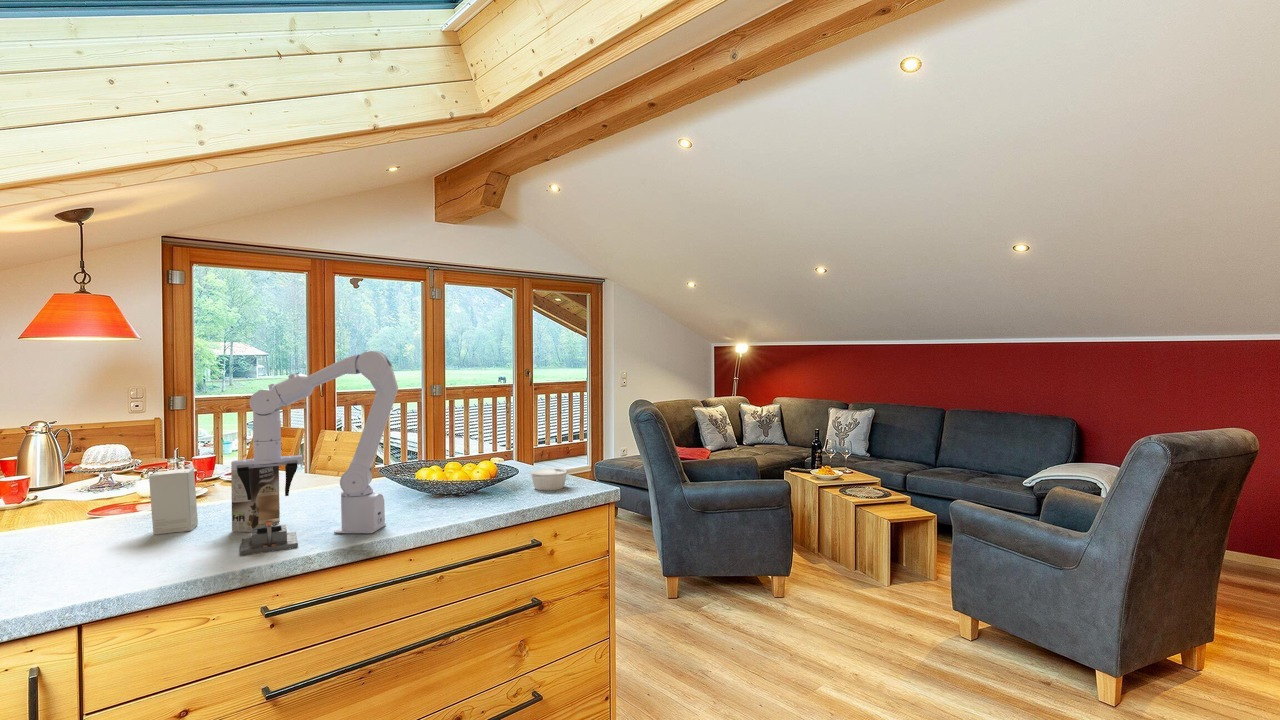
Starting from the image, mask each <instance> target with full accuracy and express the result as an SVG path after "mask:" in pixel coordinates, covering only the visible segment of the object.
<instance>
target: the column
mask: <svg viewBox="0 0 1280 720" xmlns="http://www.w3.org/2000/svg"><path fill="white" fill-rule="evenodd" d="M279 506H280V490H279V491H276V492H267V493H258V508H259V524H266V521H272V523H274V522H279V521H280V522H281V520H280V518H281V516H280V517H279Z"/></svg>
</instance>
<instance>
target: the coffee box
mask: <svg viewBox="0 0 1280 720" xmlns="http://www.w3.org/2000/svg"><path fill="white" fill-rule="evenodd" d="M270 464H277V463H270ZM259 465H265V464H259ZM253 466H254V465H253ZM230 471H231V481H230V483H231V532H237V533H239V532H240V533H241V532H242V533H252V529H253V528H261V527H267V526H266V524H259V508H258V493H267V492H276V491H279V492H280V466H270V467H259V468H250V487H251V500H248V498H247V493H246V490H245V487H244V485H243V483H242V481H241V479H240V477H239V476H238V474H237V470H232V467H231V470H230ZM280 506H281V505H279V517H280V518H281V514H280V513H281V512H280V511H281V510H280ZM279 522H280V523H281V520H280V521H279ZM279 522H274V523H272V525H273V526H275V525H274V524H276V525H278V524H277V523H279ZM280 523H279V524H280Z"/></svg>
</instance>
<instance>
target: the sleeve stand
mask: <svg viewBox="0 0 1280 720" xmlns="http://www.w3.org/2000/svg"><path fill="white" fill-rule="evenodd" d="M271 525H272V521H266V526H267V527H261V528H253V529H252V532H251V537H244V538H241V543H240V549H239V550H240V551H239V552H240V553H239V554H240V555H239V556H241V555H242V556H248V555H247V554H249V555H254V554H253V553H256V554H261V553H260V552H263V553H267V552H268V551H270V552H275V550H277V551H281V549H284V550H290V549H289V548H291V549H296V547H298V548H299V541H298V540H299V539H298V535H297V531H290V532H288V529H287V524H280V525H279V524H276V525H273V526H271Z"/></svg>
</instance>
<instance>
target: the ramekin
mask: <svg viewBox="0 0 1280 720" xmlns="http://www.w3.org/2000/svg"><path fill="white" fill-rule="evenodd" d="M567 474H568V472H567V470H566V469H563V468H562V469H561V468H538V469H535V470H532V471H531V472H530V475H531V477H532V478H531V479H532V484H533V488H534V489H536V490H538V491H546V490H547V491H549V490H550V491H557V490H561V489H563V488H564V487H565V484H566V478H567ZM550 491H549V492H550Z"/></svg>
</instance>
